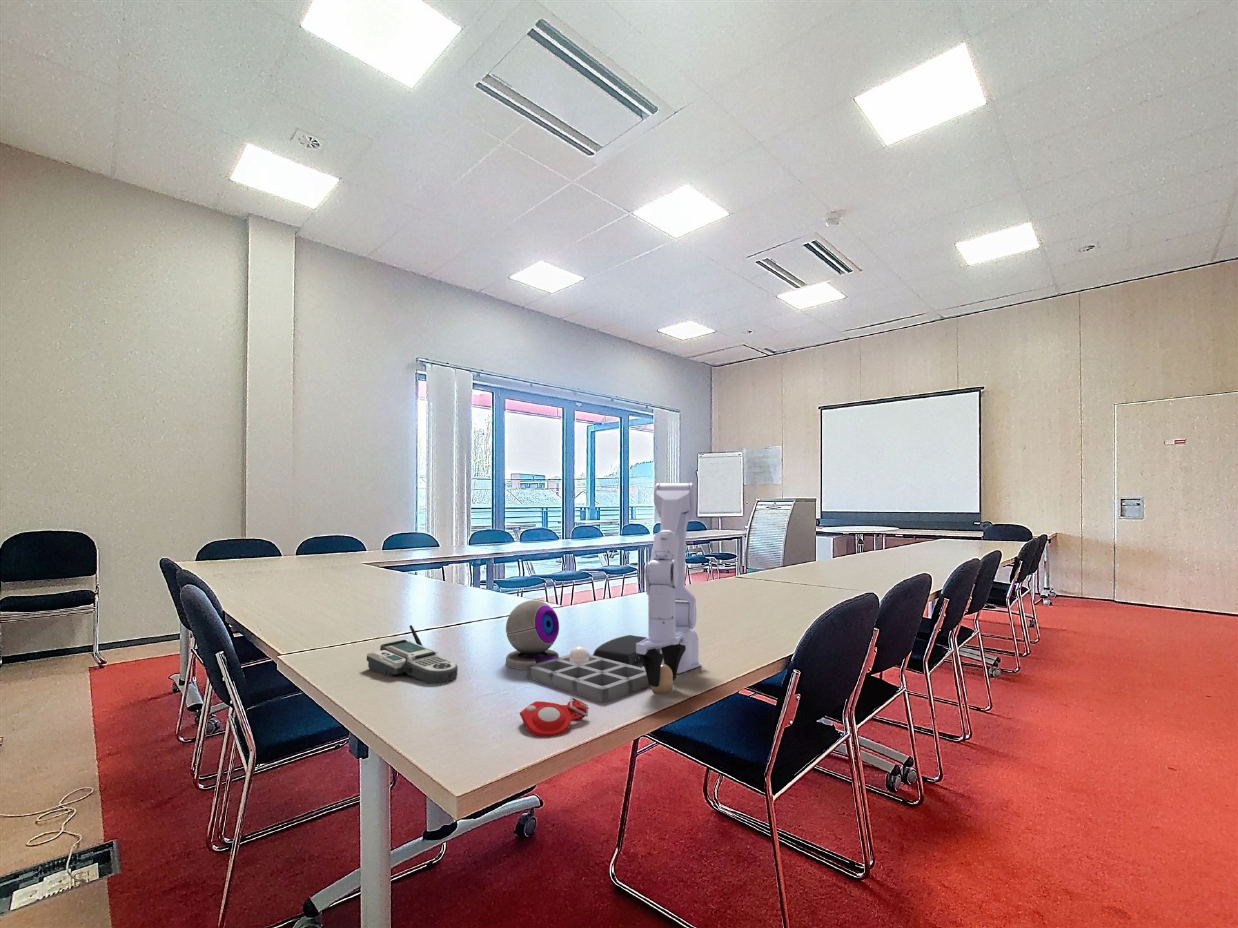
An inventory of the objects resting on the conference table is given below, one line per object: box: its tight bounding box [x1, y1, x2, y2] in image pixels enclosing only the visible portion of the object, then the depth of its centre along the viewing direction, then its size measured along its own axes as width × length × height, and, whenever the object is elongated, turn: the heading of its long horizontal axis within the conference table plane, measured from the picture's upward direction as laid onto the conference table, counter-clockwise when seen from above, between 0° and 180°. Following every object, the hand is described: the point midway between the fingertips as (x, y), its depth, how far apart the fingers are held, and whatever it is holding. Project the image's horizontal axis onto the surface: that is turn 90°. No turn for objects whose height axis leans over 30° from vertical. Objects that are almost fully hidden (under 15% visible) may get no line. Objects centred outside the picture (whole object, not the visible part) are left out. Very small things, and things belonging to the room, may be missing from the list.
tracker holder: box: [519, 695, 590, 738], centre depth 103 cm, size 12×4×10 cm
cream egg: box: [569, 646, 589, 664], centre depth 136 cm, size 4×4×5 cm
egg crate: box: [526, 653, 650, 704], centre depth 128 cm, size 24×16×2 cm
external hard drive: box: [592, 634, 660, 668], centre depth 147 cm, size 13×19×4 cm
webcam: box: [505, 599, 560, 671], centre depth 143 cm, size 13×13×15 cm
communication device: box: [366, 625, 459, 684], centre depth 134 cm, size 12×24×9 cm, turn 53°
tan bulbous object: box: [651, 664, 674, 695], centre depth 121 cm, size 4×4×5 cm
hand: (662, 682), depth 121 cm, fingers open, 5 cm apart
